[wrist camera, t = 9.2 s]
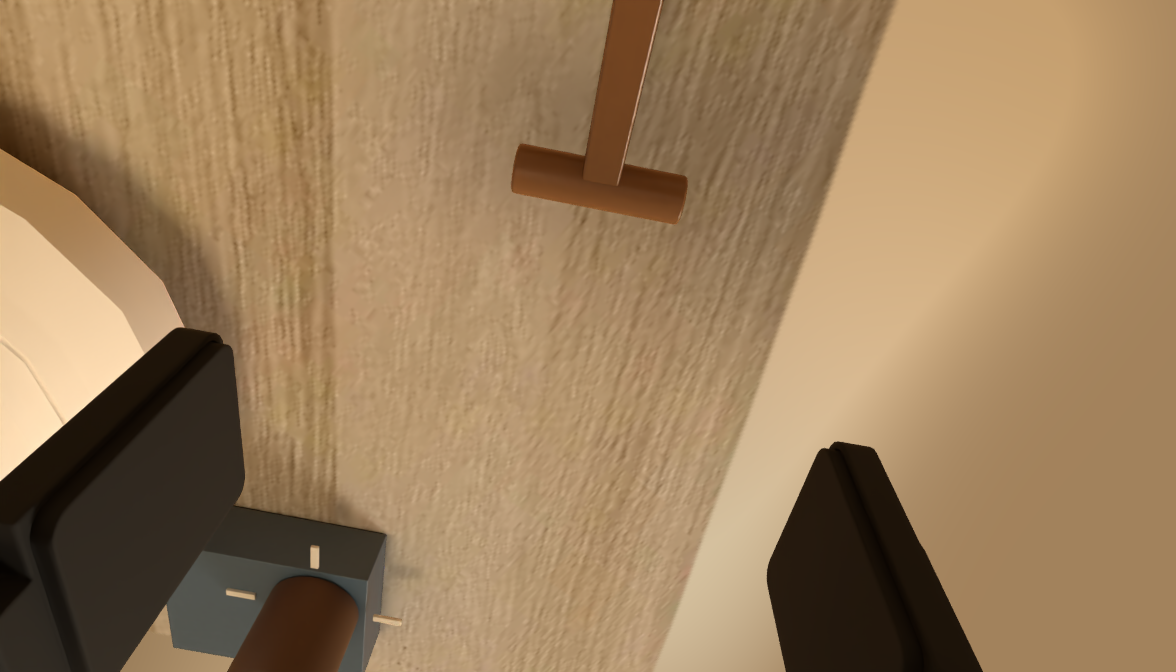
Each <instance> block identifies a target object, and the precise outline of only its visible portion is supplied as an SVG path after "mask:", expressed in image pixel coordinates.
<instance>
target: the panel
mask: <svg viewBox="0 0 1176 672" xmlns="http://www.w3.org/2000/svg"><path fill="white" fill-rule="evenodd" d="M385 549H386V534H380V533H375V532H369V531H364V530H359V529H353V528H348V527H342V526H337V525H332V524H326V523H321V522H315V521H310V520H305V519H299V518H294V517H288V516H283V515H278V514H272V513H267V512H262V511H256V510H251V509H245V508H240V507H235V506H233V507H232V508H231V510H230V511H229V513H228V514H227V516H226V517H225V519H224V520H223V522H222V523H221V524H220V526H219V527H218V529H217V530H216V532H215V533H214V535H213V536H212V538H211V539H210V541H209V542H208V543H207V545H206V546H205V548H204V549H203V551H202V552H201V554H200V555H199V557H198V558H197V560H196V561H195V562H194V564H193V565H192V567H191V568H190V570H189V571H188V573H187V574H186V576H185V577H184V579H183V580H182V581H181V583H180V584H179V586H178V587H177V589H176V590H175V592H174V593H173V595H172V596H171V598H170V599H169V600H168V602H167V603H166V604H167V611H168V617H169V623H170V629H171V636H172V642H173V647H174V648H180V649H185V650H191V651H196V652H203V653H208V654H213V655H220V656H225V657H231V658H235V656H236V655H237V653H238V651H239V649H240V647H241V645H242V644H243V642H244V640H245V638H246V636H247V634H248V633H249V631H250V629H251V627H252V625H253V624H254V622H255V620H256V618H257V616H258V614H259V613H260V611H261V609H262V607H263V605H264V603H265V602H266V600H267V598H268V596H269V594H270V593H271V591H272V589H273V588H274V587H275V586H276V585H277V584H278V583H279V582H281V581H283V580H285V579H288V578H292V577H300V576H306V577H315V578H320V579H323V580H326V581H329V582H331V583H333V584H335V585H337V586H339V587H340V588H342V589H343V590H345V591H346V592H347V593H348V594H349V595H350V596H351V597H352V598H353V600H354V601H355V603H356V605H357V607H358V612H359V618H358V621H357V624H356V627H355V629H354V632H353V634H352V637H351V639H350V642H349V644H348V647H347V649H346V652H345V654H344V657H343V659H342V662H341V664H340V667H339V669H338V672H365V670H366V667H367V664H368V662H369V659H370V656H371V653H372V650H373V648H374V645H375V642H376V639H377V637H378V634H379V626H380V623H386V624H392V625H397V626H401V623H402V619H399V618H393V617H388V616H382V615H380V613H381V600H382V587H383V575H384V562H385Z"/></svg>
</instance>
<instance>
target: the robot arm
mask: <svg viewBox="0 0 1176 672" xmlns="http://www.w3.org/2000/svg"><path fill="white" fill-rule="evenodd" d="M244 480H245V470H244V460H243V449H242V439H241V429H240V418H239V408H238V397H237V387H236V376H235V366H234V356H233V350H232V348H231V346H229V345H226V344H223V340H222V338H221V337H220V335H218V334H216V333H211V332H206V331H200V330H194V329H188V328H183V327H178V328H175V329H173V330H172V331H171V332H169V333H168V334H167V335H166V336H165V337H164V338H163V339H161V340H160V341H159V342H158V343H157V344H156V345H155V346H153V347H152V348H151V349H150V350H149V351H148V352H147V353H145V354H144V355H143V356H142V357H141V358H140V359H139V360H138V361H136V362H135V363H134V364H133V365H132V366H131V367H130V368H128V369H127V370H126V371H125V372H124V373H123V374H122V375H120V376H119V377H118V378H117V379H116V380H115V381H114V382H112V383H111V384H110V385H109V386H108V387H107V388H106V389H105V390H103V391H102V392H101V393H100V394H99V395H98V396H97V397H95V398H94V399H93V400H92V401H91V402H90V403H89V404H87V405H86V406H85V407H84V408H83V409H82V410H81V411H79V412H78V413H77V414H76V415H75V416H74V417H73V418H71V419H70V420H69V421H68V422H67V423H66V424H65V425H64V426H62V427H61V428H60V429H59V430H58V431H57V432H56V433H54V434H53V435H52V436H51V437H50V438H49V439H48V440H46V441H45V442H44V443H43V444H42V445H41V446H40V447H38V448H37V449H36V450H35V451H34V452H33V453H32V454H31V455H29V456H28V457H27V458H26V459H25V460H24V461H23V462H21V463H20V464H19V465H18V466H17V467H16V468H15V469H13V470H12V471H11V472H10V473H9V474H8V475H7V476H5V477H4V478H3V479H2V480H1V481H0V672H120V670H121V669H122V668H123V666H124V665H125V663H126V662H127V660H128V659H129V657H130V656H131V654H132V653H133V652H134V650H135V648H136V647H137V646H138V644H139V643H140V641H141V640H142V638H143V637H144V636H145V634H146V633H147V631H148V630H149V628H150V627H151V625H152V624H153V622H154V621H155V619H156V618H157V617H158V615H159V614H160V612H161V611H162V609H163V608H164V606H165V605H166V603H167V602H168V600H169V599H170V598H171V596H172V595H173V593H174V592H175V590H176V589H177V587H178V586H179V584H180V583H181V581H182V580H183V579H184V577H185V576H186V574H187V573H188V571H189V570H190V568H191V567H192V565H193V564H194V562H195V561H196V560H197V558H198V557H199V555H200V554H201V552H202V551H203V549H204V548H205V546H206V545H207V543H208V542H209V541H210V539H211V538H212V536H213V535H214V533H215V532H216V530H217V529H218V527H219V526H220V524H221V523H222V522H223V520H224V519H225V517H226V516H227V514H228V513H229V511H230V510H231V508H232V507H233V505H234V504H235V503H236V501H237V500H238V498H239V496H240V494H241V492H242V489H243V485H244ZM767 585H768V590H769V595H770V599H771V604H772V609H773V614H774V618H775V623H776V628H777V632H778V637H779V642H780V646H781V651H782V656H783V660H784V665H785V669H786V672H983V671H982V669H981V667H980V665H979V662H978V661H977V658H976V656H975V654H974V652H973V650H972V648H971V646H970V644H969V642H968V640H967V638H966V635H965V633H964V631H963V629H962V627H961V625H960V623H959V621H958V619H957V617H956V615H955V613H954V611H953V608H952V606H951V604H950V602H949V600H948V598H947V596H946V594H945V592H944V590H943V588H942V585H941V583H940V581H939V579H938V577H937V575H936V573H935V571H934V569H933V567H932V565H931V563H930V560H929V558H928V556H927V554H926V552H925V550H924V549H923V547H922V546H921V544H920V543H919V541H918V539H917V537H916V534H915V532H914V530H913V528H912V526H911V524H910V522H909V520H908V518H907V516H906V513H905V511H904V509H903V507H902V505H901V503H900V501H899V499H898V497H897V495H896V493H895V491H894V488H893V486H892V484H891V482H890V480H889V478H888V476H887V474H886V472H885V470H884V468H883V465H882V463H881V461H880V459H879V457H878V455H877V453H876V452H875V450H874V449H873V448H871V447H867V446H861V445H855V444H850V443H844V442H834V443H833V444H832V445H831V446H830V448H829V449H826V448H823V449H821V450H820V451H819V452H818V454H817V456H816V458H815V460H814V462H813V465H812V467H811V469H810V471H809V473H808V476H807V478H806V480H805V482H804V485H803V487H802V489H801V492H800V494H799V496H798V498H797V501H796V503H795V505H794V507H793V509H792V512H791V514H790V516H789V518H788V521H787V523H786V525H785V527H784V530H783V532H782V534H781V536H780V539H779V541H778V543H777V545H776V548H775V550H774V552H773V554H772V557H771V559H770V561H769V564H768V569H767Z"/></svg>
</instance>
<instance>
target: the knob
mask: <svg viewBox="0 0 1176 672" xmlns="http://www.w3.org/2000/svg"><path fill="white" fill-rule="evenodd" d="M358 618H359V612H358V607H357V605H356V603H355V601H354V600H353V598H352V597H351V596H350V595H349V594H348V593H347V592H346V591H345V590H343V589H342V588H340V587H339V586H337V585H335V584H333V583H331V582H329V581H326V580H323V579H320V578H315V577H306V576H300V577H292V578H288V579H285V580H283V581H281V582H279V583H278V584H277V585H276V586H275V587H274V588H273V589H272V591H271V593H270V594H269V596H268V598H267V600H266V602H265V603H264V605H263V607H262V609H261V611H260V613H259V614H258V616H257V618H256V620H255V622H254V624H253V625H252V627H251V629H250V631H249V633H248V634H247V636H246V638H245V640H244V642H243V644H242V645H241V647H240V649H239V651H238V653H237V655H236V656H235V658H234V660H233V662H232V664H231V666H230V667H229V669H228V671H227V672H338V669H339V667H340V664H341V662H342V659H343V657H344V654H345V652H346V649H347V647H348V644H349V642H350V639H351V637H352V634H353V632H354V629H355V627H356V624H357V621H358Z"/></svg>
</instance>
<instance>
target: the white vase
mask: <svg viewBox="0 0 1176 672" xmlns="http://www.w3.org/2000/svg"><path fill="white" fill-rule="evenodd" d="M178 327H183V328H185V327H184V325H183V323H182V321H181V319H180V317H179V315H178V313H177V311H176V308H175V306H174V304H173V302H172V300H171V298H170V296H169V294H168V292H167V290H166V287H165V285H164V283H163V281H162V280H161V279H160V278H159V277H158V276H157V275H156V274H155V273H154V272H153V271H152V270H151V269H150V268H149V267H148V266H147V265H146V264H145V263H144V262H143V261H142V260H141V259H140V258H139V257H138V256H137V255H136V254H135V253H134V252H133V251H132V250H131V249H130V248H129V247H128V246H127V245H126V244H125V243H124V242H123V241H122V240H121V239H120V238H119V237H118V236H117V235H116V234H115V233H114V232H113V231H112V230H111V229H110V228H109V227H108V226H107V225H106V224H105V223H104V222H103V221H102V220H101V219H100V218H99V217H98V216H97V215H96V214H95V213H94V212H93V211H92V210H91V209H90V208H89V207H88V206H87V205H85V204H84V203H83V202H82V201H81V200H80V199H79V198H78V197H77V196H76V195H75V194H74V193H72V192H70V191H69V190H67V189H65V188H64V187H62V186H60V185H59V184H57V183H56V182H54V181H52V180H51V179H49V178H47V177H46V176H44V175H42V174H41V173H39V172H37V171H36V170H34V169H33V168H31V167H29V166H28V165H26V164H24V163H23V162H21V161H19V160H18V159H16V158H15V157H13V156H11V155H10V154H8V153H6V152H5V151H3V150H1V149H0V481H1V480H2V479H3V478H4V477H5V476H7V475H8V474H9V473H10V472H11V471H12V470H13V469H15V468H16V467H17V466H18V465H19V464H20V463H21V462H23V461H24V460H25V459H26V458H27V457H28V456H29V455H31V454H32V453H33V452H34V451H35V450H36V449H37V448H38V447H40V446H41V445H42V444H43V443H44V442H45V441H46V440H48V439H49V438H50V437H51V436H52V435H53V434H54V433H56V432H57V431H58V430H59V429H60V428H61V427H62V426H64V425H65V424H66V423H67V422H68V421H69V420H70V419H71V418H73V417H74V416H75V415H76V414H77V413H78V412H79V411H81V410H82V409H83V408H84V407H85V406H86V405H87V404H89V403H90V402H91V401H92V400H93V399H94V398H95V397H97V396H98V395H99V394H100V393H101V392H102V391H103V390H105V389H106V388H107V387H108V386H109V385H110V384H111V383H112V382H114V381H115V380H116V379H117V378H118V377H119V376H120V375H122V374H123V373H124V372H125V371H126V370H127V369H128V368H130V367H131V366H132V365H133V364H134V363H135V362H136V361H138V360H139V359H140V358H141V357H142V356H143V355H144V354H145V353H147V352H148V351H149V350H150V349H151V348H152V347H153V346H155V345H156V344H157V343H158V342H159V341H160V340H161V339H163V338H164V337H165V336H166V335H167V334H168V333H169V332H171V331H172V330H173V329H175V328H178Z"/></svg>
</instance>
